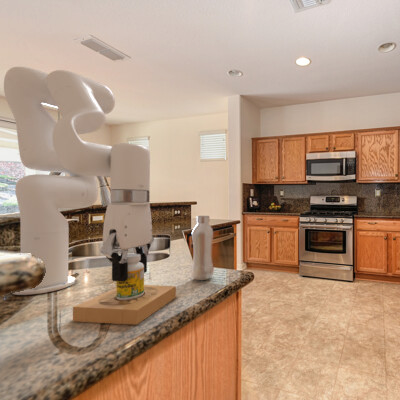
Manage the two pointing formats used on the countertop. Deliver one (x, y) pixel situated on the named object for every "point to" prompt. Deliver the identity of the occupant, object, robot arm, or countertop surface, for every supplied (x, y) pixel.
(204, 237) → the plastic bottle
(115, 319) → the socket pad
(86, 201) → the robot arm
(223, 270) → the countertop surface
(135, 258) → the supplement bottle
